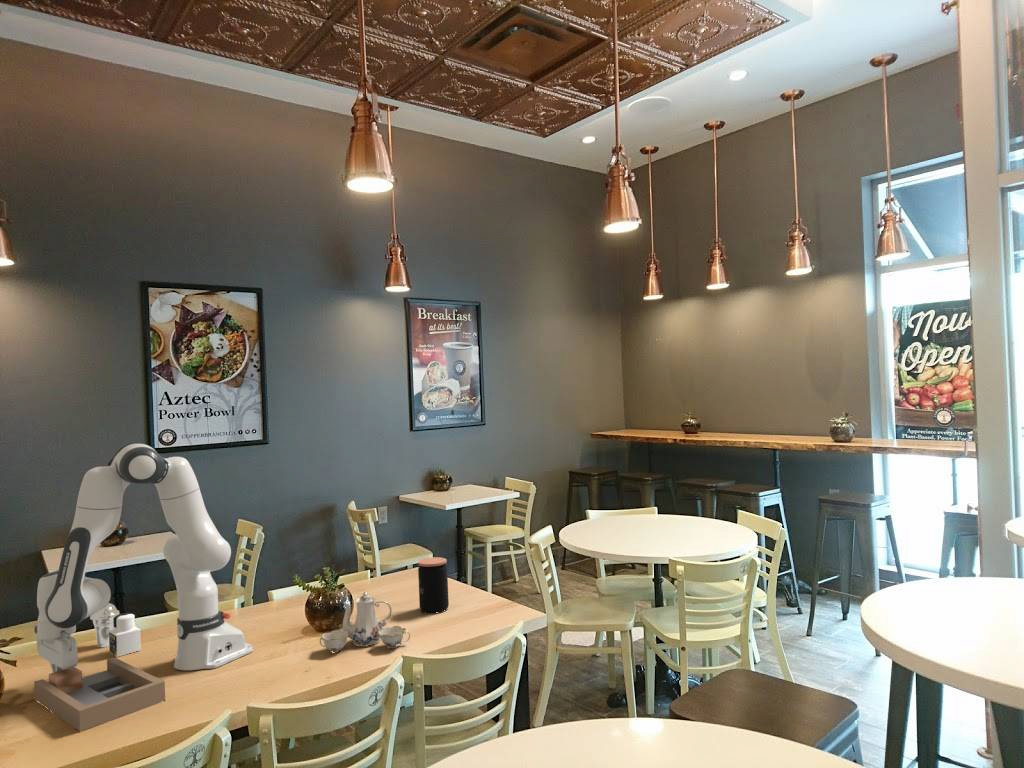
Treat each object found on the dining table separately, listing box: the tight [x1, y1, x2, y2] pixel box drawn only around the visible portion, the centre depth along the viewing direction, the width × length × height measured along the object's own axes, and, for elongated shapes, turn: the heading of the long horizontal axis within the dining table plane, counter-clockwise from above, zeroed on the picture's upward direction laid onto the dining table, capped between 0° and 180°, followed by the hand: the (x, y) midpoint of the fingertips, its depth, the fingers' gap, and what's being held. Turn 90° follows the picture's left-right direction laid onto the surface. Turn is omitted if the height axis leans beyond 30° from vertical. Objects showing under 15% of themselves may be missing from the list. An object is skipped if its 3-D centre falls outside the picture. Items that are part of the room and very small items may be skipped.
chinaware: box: [319, 591, 411, 652], centre depth 210 cm, size 28×17×17 cm, turn 101°
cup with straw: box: [89, 602, 121, 648], centre depth 222 cm, size 8×9×20 cm
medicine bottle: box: [108, 612, 142, 658], centre depth 214 cm, size 7×7×12 cm
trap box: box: [33, 656, 166, 733], centre depth 178 cm, size 20×32×5 cm, turn 52°
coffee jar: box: [417, 556, 450, 614], centre depth 244 cm, size 11×11×18 cm
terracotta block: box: [48, 666, 83, 693], centre depth 181 cm, size 6×6×4 cm
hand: (58, 677), depth 186 cm, fingers closed
